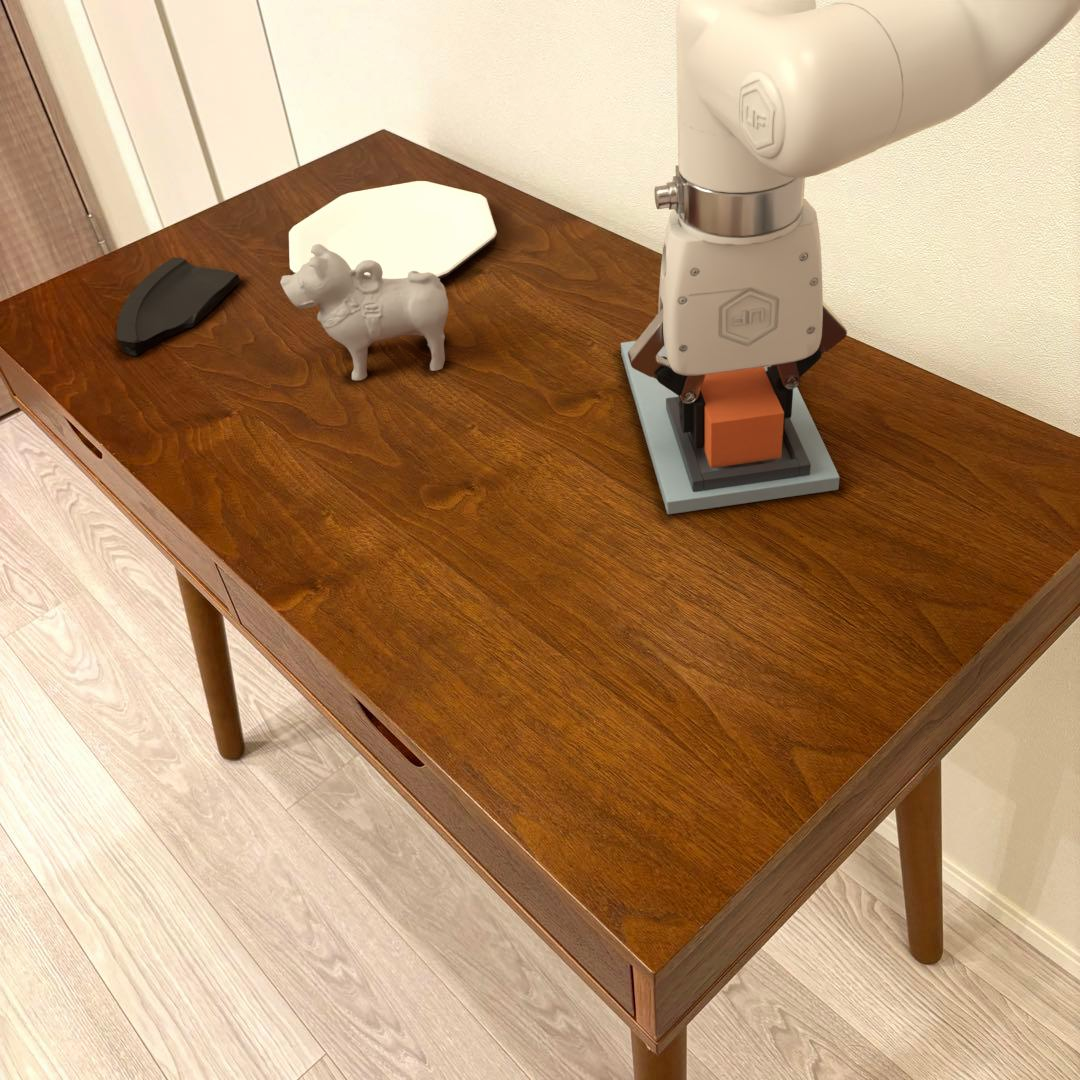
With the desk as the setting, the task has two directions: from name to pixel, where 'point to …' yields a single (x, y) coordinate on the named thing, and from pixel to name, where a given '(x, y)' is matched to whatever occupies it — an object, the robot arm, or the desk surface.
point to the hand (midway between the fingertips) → (734, 428)
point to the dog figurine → (369, 304)
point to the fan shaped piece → (170, 303)
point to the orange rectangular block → (741, 418)
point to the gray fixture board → (703, 487)
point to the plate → (398, 229)
